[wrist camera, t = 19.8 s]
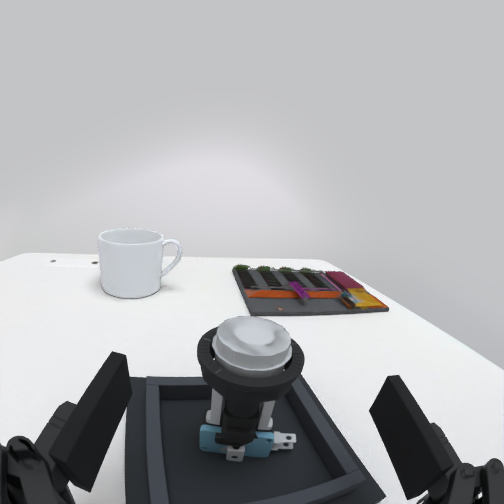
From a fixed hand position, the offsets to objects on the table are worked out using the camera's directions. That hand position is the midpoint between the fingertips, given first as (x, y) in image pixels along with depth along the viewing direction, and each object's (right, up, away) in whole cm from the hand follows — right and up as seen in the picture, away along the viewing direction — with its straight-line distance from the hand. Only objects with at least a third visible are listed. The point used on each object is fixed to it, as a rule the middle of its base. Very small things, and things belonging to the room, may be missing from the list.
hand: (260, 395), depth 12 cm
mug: (-18, +1, +29) cm, 34 cm away
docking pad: (-1, -8, +4) cm, 9 cm away
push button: (-1, -7, +4) cm, 8 cm away
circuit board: (+10, 0, +36) cm, 38 cm away
